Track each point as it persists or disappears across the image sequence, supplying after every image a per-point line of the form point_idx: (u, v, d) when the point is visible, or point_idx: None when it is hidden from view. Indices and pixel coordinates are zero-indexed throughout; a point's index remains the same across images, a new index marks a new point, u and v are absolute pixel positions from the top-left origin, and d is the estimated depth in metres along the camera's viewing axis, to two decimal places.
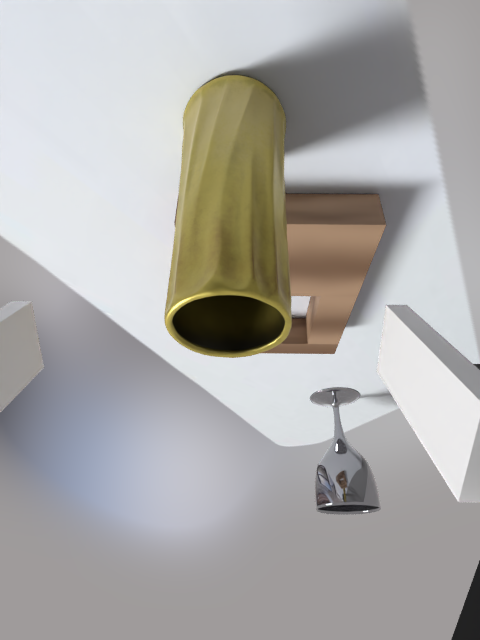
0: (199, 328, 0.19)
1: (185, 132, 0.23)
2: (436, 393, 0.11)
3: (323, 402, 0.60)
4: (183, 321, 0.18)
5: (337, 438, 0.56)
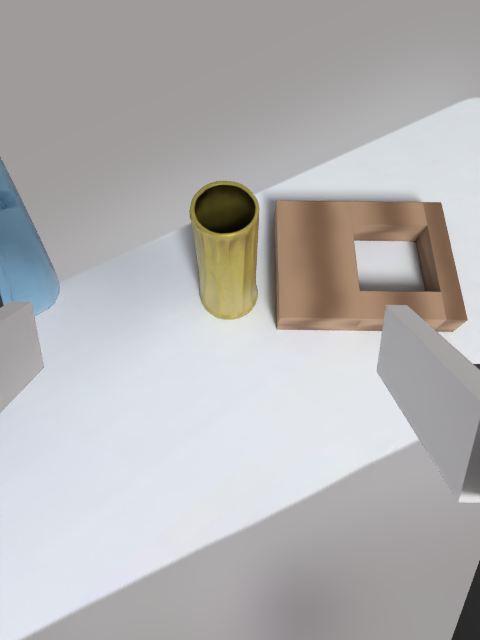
0: None
1: (218, 307, 0.41)
2: (436, 393, 0.11)
3: None
4: (238, 238, 0.31)
5: None
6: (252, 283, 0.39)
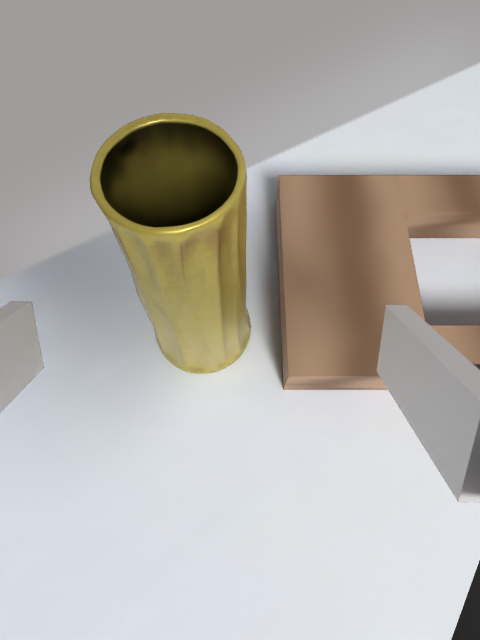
0: None
1: (182, 357, 0.24)
2: (436, 393, 0.11)
3: None
4: (201, 238, 0.14)
5: None
6: (239, 318, 0.21)
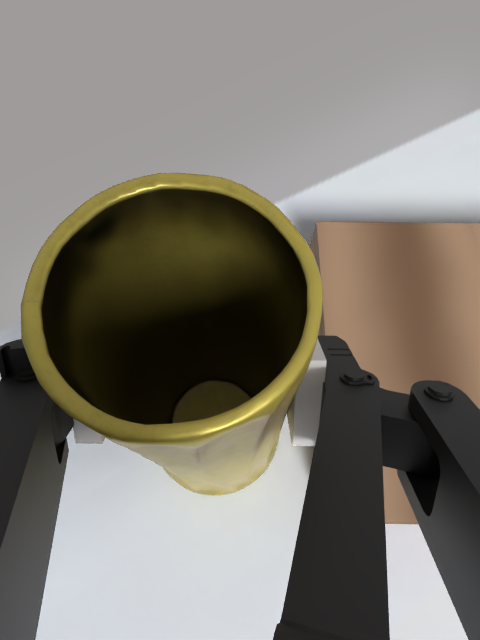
0: None
1: (187, 483, 0.17)
2: None
3: None
4: None
5: None
6: (272, 445, 0.15)
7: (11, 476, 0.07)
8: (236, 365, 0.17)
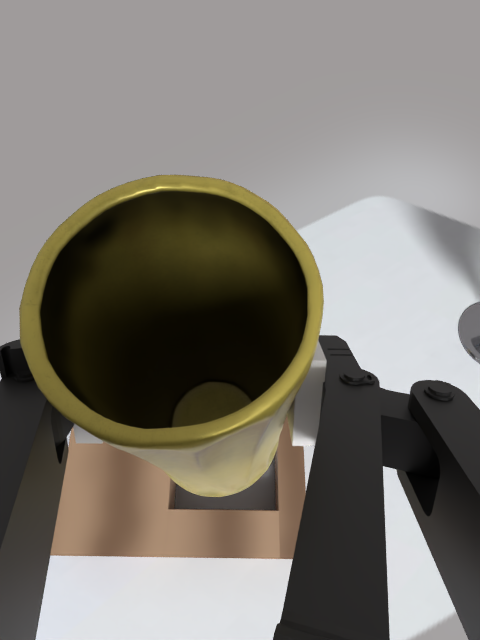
0: None
1: None
2: None
3: None
4: None
5: None
6: (273, 447, 0.15)
7: (11, 476, 0.07)
8: (236, 366, 0.17)
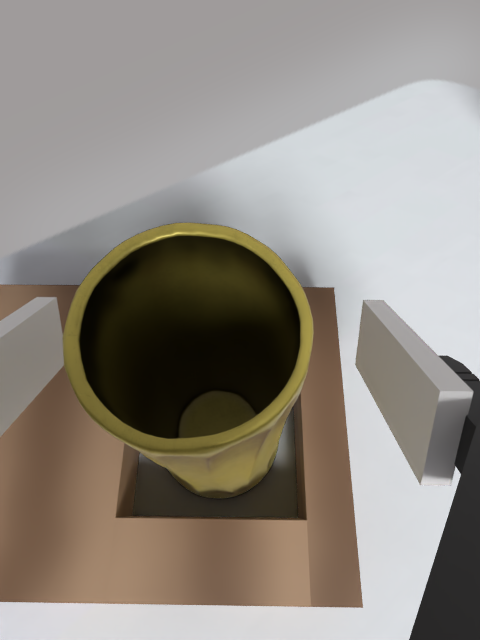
0: None
1: None
2: (403, 383, 0.11)
3: None
4: None
5: None
6: (272, 453, 0.16)
7: None
8: (239, 377, 0.19)
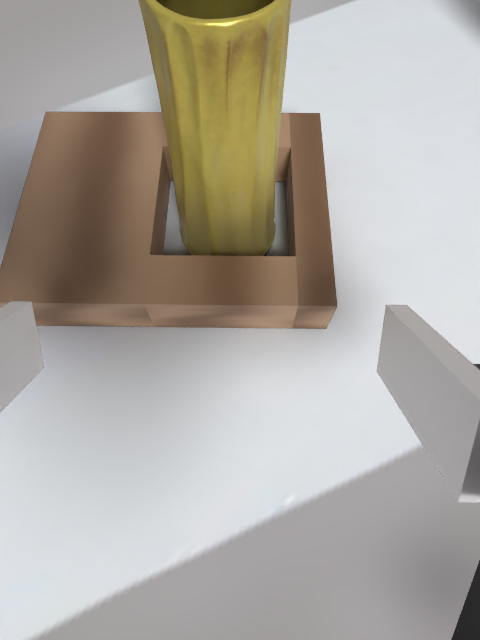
0: None
1: (209, 246, 0.24)
2: (436, 393, 0.11)
3: None
4: (247, 46, 0.14)
5: None
6: (269, 195, 0.21)
7: None
8: None
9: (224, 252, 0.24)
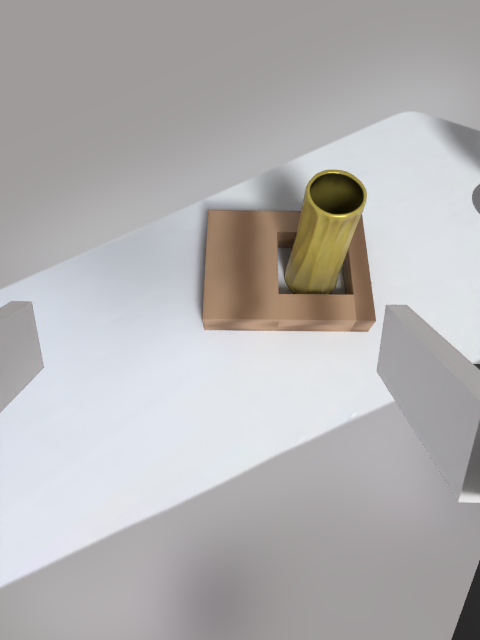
0: None
1: (306, 287, 0.45)
2: (436, 393, 0.11)
3: None
4: (349, 219, 0.35)
5: None
6: (341, 264, 0.43)
7: None
8: None
9: (313, 290, 0.46)
